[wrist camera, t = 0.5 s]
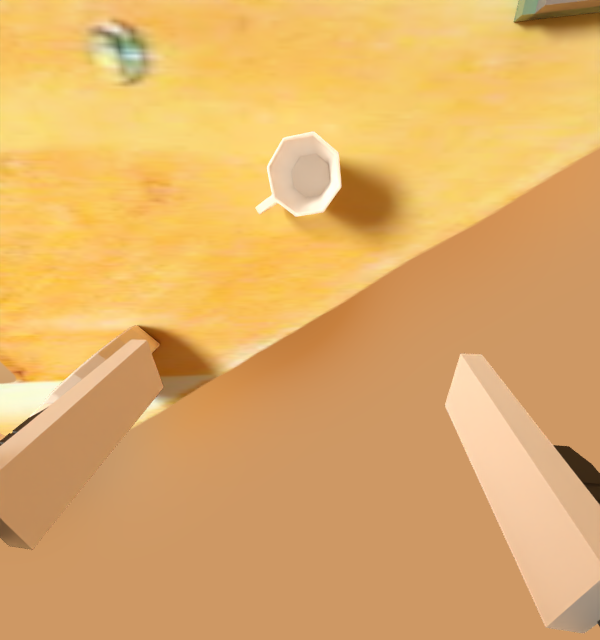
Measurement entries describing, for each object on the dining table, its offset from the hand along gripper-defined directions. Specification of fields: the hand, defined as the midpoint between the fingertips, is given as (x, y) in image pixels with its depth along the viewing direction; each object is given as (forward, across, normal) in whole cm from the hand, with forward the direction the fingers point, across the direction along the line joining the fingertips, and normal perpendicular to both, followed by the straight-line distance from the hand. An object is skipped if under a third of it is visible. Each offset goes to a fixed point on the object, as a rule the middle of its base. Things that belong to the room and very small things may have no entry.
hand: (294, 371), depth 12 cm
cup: (+27, -3, +6) cm, 28 cm away
